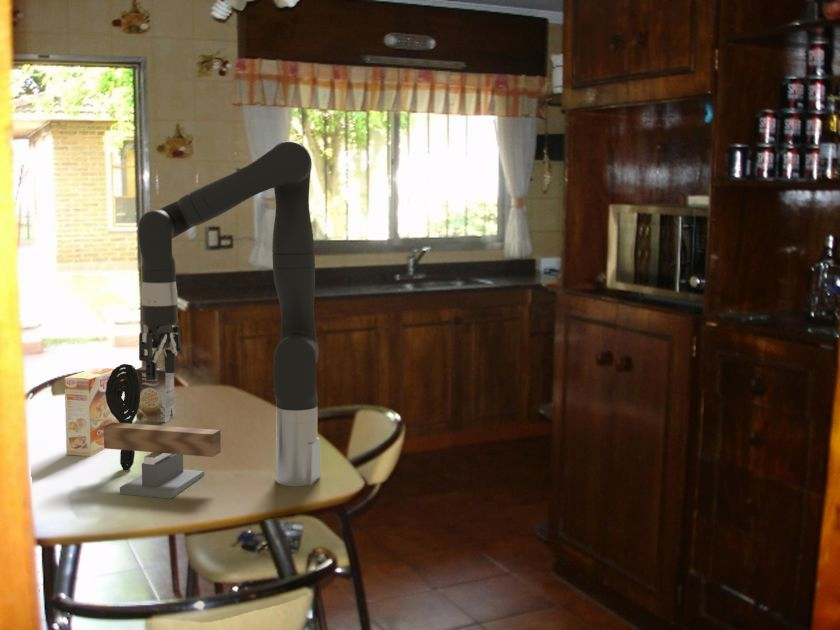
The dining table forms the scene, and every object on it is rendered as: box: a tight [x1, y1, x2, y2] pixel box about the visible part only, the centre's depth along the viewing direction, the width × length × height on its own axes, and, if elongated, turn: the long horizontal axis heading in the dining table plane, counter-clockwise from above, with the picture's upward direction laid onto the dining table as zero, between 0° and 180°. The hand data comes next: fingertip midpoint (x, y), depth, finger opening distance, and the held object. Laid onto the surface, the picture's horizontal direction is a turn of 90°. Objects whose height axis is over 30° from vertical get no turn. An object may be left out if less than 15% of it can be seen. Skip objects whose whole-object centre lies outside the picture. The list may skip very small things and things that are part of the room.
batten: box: [104, 422, 222, 458], centre depth 207 cm, size 26×4×5 cm, turn 77°
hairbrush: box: [105, 363, 142, 471], centre depth 218 cm, size 8×4×25 cm, turn 81°
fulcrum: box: [119, 452, 205, 499], centre depth 207 cm, size 12×16×8 cm
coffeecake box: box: [64, 367, 119, 457], centre depth 237 cm, size 15×7×20 cm, turn 170°
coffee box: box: [135, 365, 175, 423], centre depth 264 cm, size 9×6×16 cm
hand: (161, 376), depth 205 cm, fingers open, 8 cm apart
